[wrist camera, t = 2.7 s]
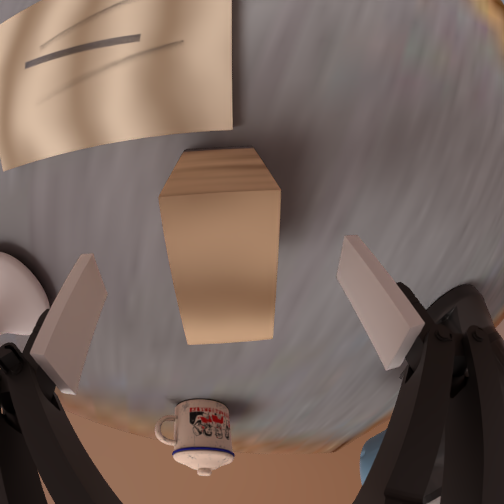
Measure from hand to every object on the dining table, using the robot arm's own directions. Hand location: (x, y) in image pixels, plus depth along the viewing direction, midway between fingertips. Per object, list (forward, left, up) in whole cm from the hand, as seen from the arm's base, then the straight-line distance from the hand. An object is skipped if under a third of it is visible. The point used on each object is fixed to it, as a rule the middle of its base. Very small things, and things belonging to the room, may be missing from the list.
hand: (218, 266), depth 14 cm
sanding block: (0, 0, -9) cm, 9 cm away
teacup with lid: (+7, +33, -9) cm, 35 cm away
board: (+9, -13, -9) cm, 18 cm away
